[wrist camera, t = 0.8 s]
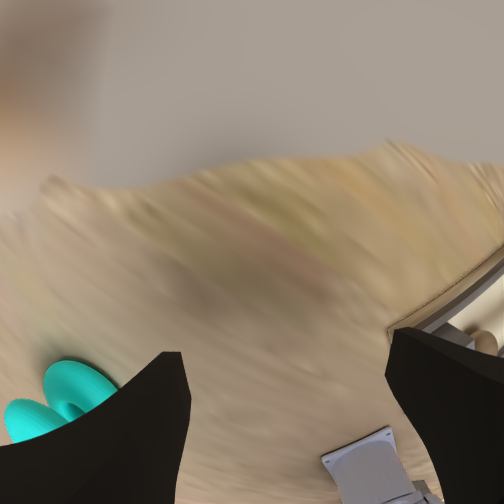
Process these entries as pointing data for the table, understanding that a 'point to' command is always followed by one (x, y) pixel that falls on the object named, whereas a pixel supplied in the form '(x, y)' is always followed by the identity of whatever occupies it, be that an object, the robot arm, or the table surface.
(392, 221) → the table surface
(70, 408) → the donuts
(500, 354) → the base
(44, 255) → the table surface
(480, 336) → the walnut
